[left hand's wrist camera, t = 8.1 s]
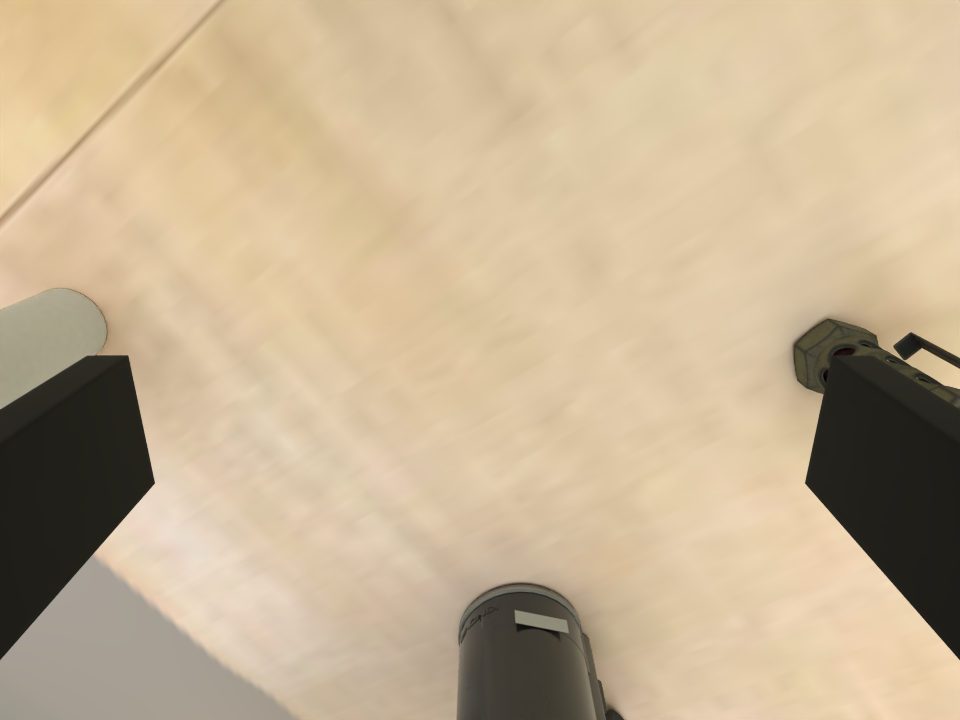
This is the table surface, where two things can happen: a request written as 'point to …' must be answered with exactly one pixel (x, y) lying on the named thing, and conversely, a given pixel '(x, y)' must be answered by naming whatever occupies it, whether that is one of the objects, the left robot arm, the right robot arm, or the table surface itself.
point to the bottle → (46, 339)
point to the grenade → (857, 341)
